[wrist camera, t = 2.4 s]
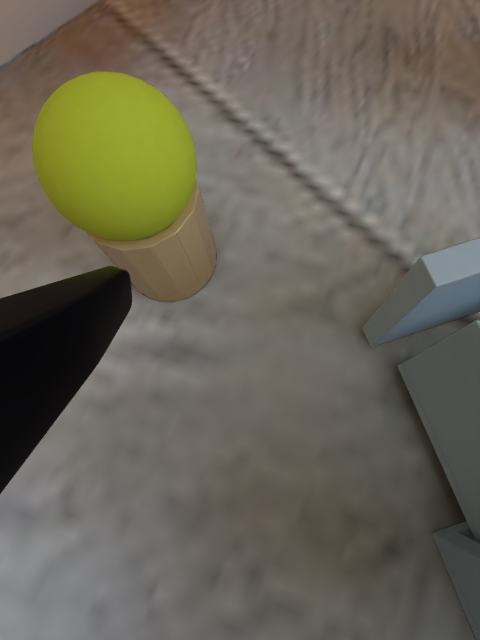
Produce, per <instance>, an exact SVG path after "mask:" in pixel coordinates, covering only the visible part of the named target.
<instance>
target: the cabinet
mask: <svg viewBox="0 0 480 640" xmlns="http://www.w3.org/2000/svg"><path fill="white" fill-rule="evenodd" d="M432 536H433V538H434V540H435V543H436V545H437V547H438V550H439V552H440V555H441V557H442V559H443V562H444V564H445V567H446V569H447V571H448V574H449V576H450V579H451V581H452V583H453V586H454V588H455V590H456V593H457V595H458V598H459V600H460V602H461V605H462V607H463V610H464V612H465V614H466V617H467V619H468V622H469V624H470V626H471V629H472V631H473V633H474V636H475V638H476V640H480V543H478V542H476V541H475V539H474V536H473V534H472V532H471V530H470V527H469V525H468V523H467V521H465V522H462V523H459V524H456V525H453V526H450V527H448V528H445V529H442V530H439V531H436V532H433V533H432Z"/></svg>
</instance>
